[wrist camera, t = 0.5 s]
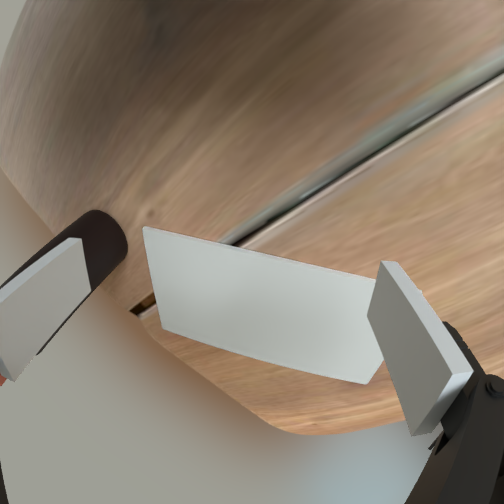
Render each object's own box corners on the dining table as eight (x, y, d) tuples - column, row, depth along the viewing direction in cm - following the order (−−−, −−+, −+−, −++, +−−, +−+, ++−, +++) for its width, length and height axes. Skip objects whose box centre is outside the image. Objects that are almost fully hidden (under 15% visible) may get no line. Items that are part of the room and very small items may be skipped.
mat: (144, 225, 28) (142, 228, 28) (421, 290, 23) (422, 294, 23) (164, 326, 37) (162, 328, 37) (367, 381, 32) (366, 384, 31)
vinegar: (108, 266, 34) (2, 389, 19) (76, 220, 31) (-45, 335, 16) (139, 251, 31) (14, 400, 15) (103, 198, 28) (-45, 333, 13)
